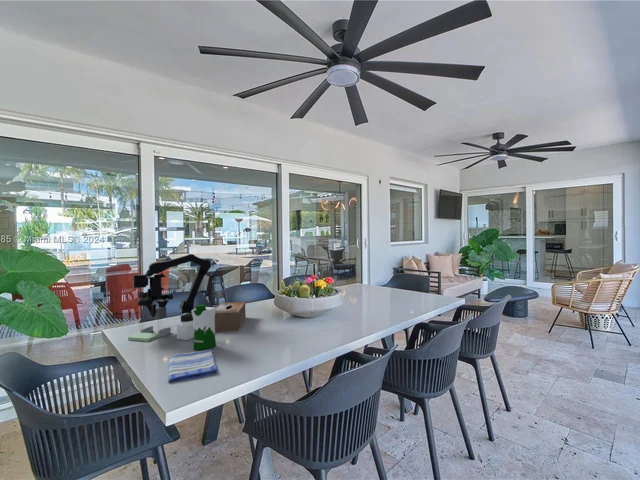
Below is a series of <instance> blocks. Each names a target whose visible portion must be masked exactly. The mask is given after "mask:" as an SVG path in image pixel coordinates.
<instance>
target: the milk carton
mask: <svg viewBox="0 0 640 480" xmlns="http://www.w3.org/2000/svg"><path fill="white" fill-rule="evenodd" d="M216 308H217V307H210V306H206V304H204V303H203V304H197V305H196V306H195V308H193V310H191V312H192V316H193V327H194V338H193V350H194V351H198V352H199V351H205V350H209V349H210V350H212V349H213V348H215V347H217V342H216V341H217V340H216V331H215V311H216Z"/></svg>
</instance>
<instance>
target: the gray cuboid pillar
mask: <svg viewBox="0 0 640 480" xmlns="http://www.w3.org/2000/svg"><path fill="white" fill-rule="evenodd" d="M164 318H168V317H167V307H166V306H165V307H159V306H156V310H155V315H154V317H152V316H151V314H150V312H149V310H148V308H146V319H151V320H161V319H164Z"/></svg>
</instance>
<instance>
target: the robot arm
mask: <svg viewBox="0 0 640 480" xmlns="http://www.w3.org/2000/svg"><path fill="white" fill-rule="evenodd" d="M190 262H192V264H195V265H197V267H196V275H195V277H194V279H193V281H192V284H191V287H190V289H189V291H188V293H187V296H186V297H185V299H181V301H180V304H179V306H178V307H179V311H180V313H181V315H182V314H185V313H192V312H191V310H194V307H195V306H194V305H195V300H196V297H197V295H198V291H199V289H200V287H201V285H202V282H203V279H204V277H205V276H206V275H207V274H208V272H209V270H210V269H211V267H212V263H211V261H210V260H208V259H206V258H200V257H198V256H196V255H195V254H192V253H189V254H187V255H183V256H182V255H181V256H179V257H176V258H172V259H168V260H165V261H164V260H163V261H154V262H151V263H149V265H148V269H147V271H146V272H145V273H144V274H134V275H133V281H132V286H133V289H144V288H146V287H147V286H149V288H148V289H147V291H146V292H144V291H140V292H138V295H137V296H138V301H137V306H138V307H146V309H148V310H149V312H150V314H151V316H152V317H154V315H155V310H156V307H157V304H158V307H166V306H167V304H168V303H169V301H170V300H173V299H174V295H173V294H172V293H163V291H164V290H165V287H163V284H162V278H166V277H167V276H166V275H165V274H164V273H163V272H164V271H166V270H167V269H168V270H169V268H173V267H175V266H180V265H183V264H186V263H190ZM155 302H156V304H155Z"/></svg>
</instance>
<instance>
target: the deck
mask: <svg viewBox="0 0 640 480" xmlns="http://www.w3.org/2000/svg"><path fill="white" fill-rule="evenodd" d="M152 332H153V333H152ZM168 334H171V327H170V326H167V327H165V328H162V329H160V330H158V333H157V332H156V333H154V325H149V326H146V327H144V328H141V329H140V332H138V333H136V334H132V335H130V336H128V337H127V340H128V341H131V342H132V341H135V342H142V343H143V342H144V343H149V342H151V341H154V340H157V339H158V338H161V337H164V336H165V335H168Z"/></svg>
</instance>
